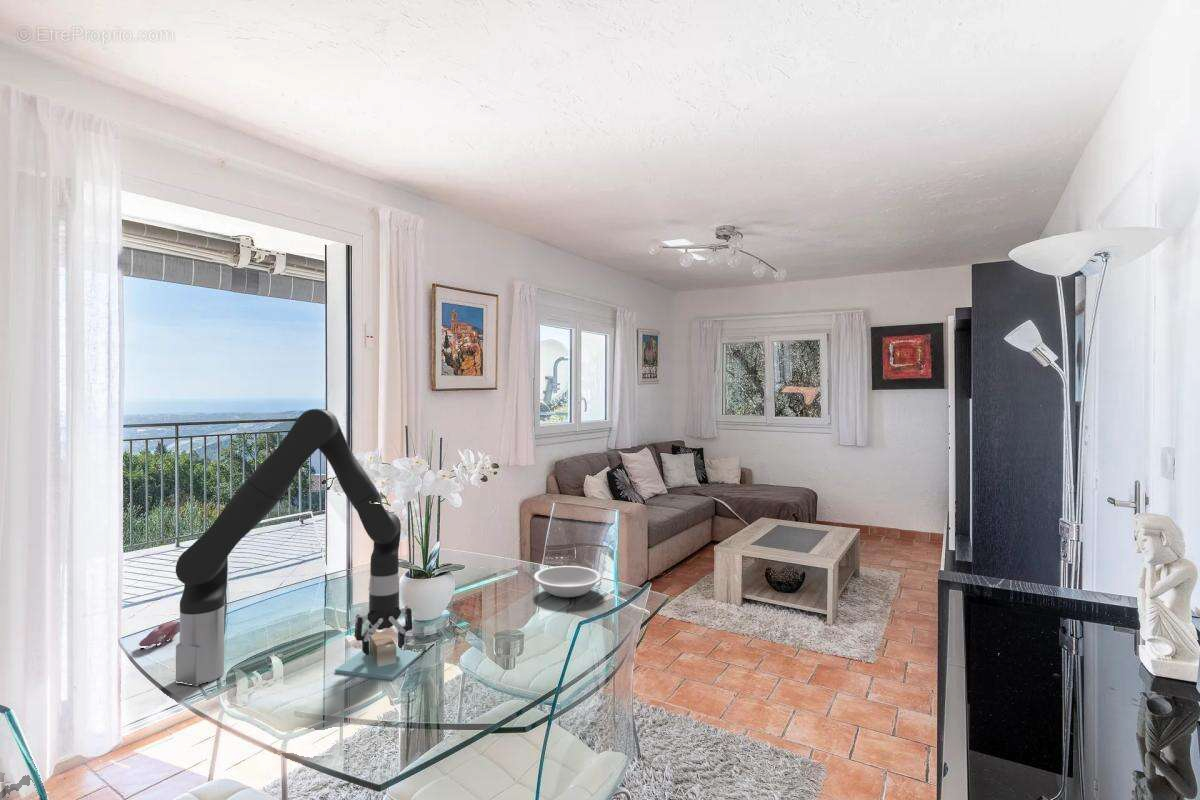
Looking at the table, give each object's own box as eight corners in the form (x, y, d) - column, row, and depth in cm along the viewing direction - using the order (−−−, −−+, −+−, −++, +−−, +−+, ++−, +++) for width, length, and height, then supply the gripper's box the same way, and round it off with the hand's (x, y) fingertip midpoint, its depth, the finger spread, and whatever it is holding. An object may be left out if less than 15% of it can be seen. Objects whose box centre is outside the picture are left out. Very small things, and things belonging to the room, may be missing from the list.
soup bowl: (578, 611, 198) (578, 591, 198) (519, 597, 210) (520, 578, 209) (613, 590, 218) (613, 572, 218) (558, 579, 230) (558, 562, 230)
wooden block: (386, 647, 166) (396, 662, 157) (369, 650, 164) (378, 666, 154) (386, 630, 166) (396, 645, 157) (369, 634, 164) (378, 649, 154)
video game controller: (148, 656, 163) (158, 634, 163) (135, 647, 164) (145, 626, 163) (179, 641, 173) (189, 621, 172) (167, 633, 174) (176, 612, 173)
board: (392, 680, 149) (392, 677, 149) (335, 672, 152) (335, 669, 152) (435, 643, 171) (435, 641, 171) (384, 637, 174) (384, 635, 174)
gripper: (358, 598, 152) (358, 662, 153) (415, 589, 160) (414, 650, 160) (352, 590, 159) (352, 651, 159) (407, 581, 166) (407, 639, 167)
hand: (383, 650), depth 160 cm, fingers open, 8 cm apart
